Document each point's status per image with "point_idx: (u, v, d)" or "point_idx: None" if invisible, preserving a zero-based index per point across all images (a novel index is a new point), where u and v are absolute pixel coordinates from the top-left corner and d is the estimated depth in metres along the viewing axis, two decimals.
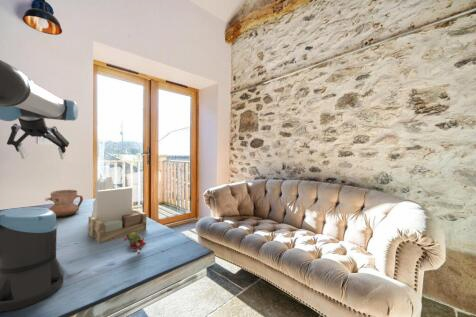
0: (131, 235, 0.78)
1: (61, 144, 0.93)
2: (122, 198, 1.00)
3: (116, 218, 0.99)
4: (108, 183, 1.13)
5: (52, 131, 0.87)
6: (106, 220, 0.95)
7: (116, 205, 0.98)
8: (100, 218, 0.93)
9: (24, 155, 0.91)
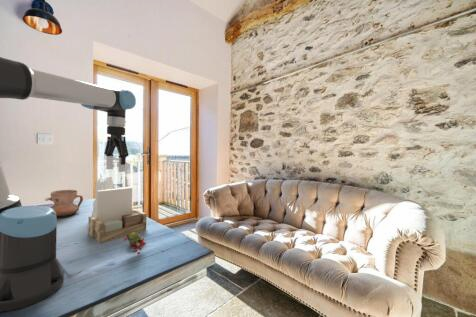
0: (131, 235, 0.78)
1: None
2: (122, 198, 1.00)
3: (116, 218, 0.99)
4: (108, 183, 1.13)
5: (119, 138, 0.93)
6: (106, 220, 0.95)
7: (116, 205, 0.98)
8: (100, 218, 0.93)
9: (108, 167, 1.02)
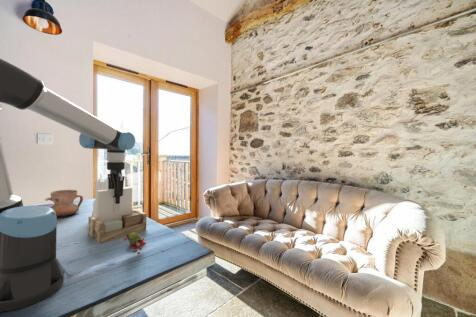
0: (131, 235, 0.78)
1: None
2: (122, 198, 1.00)
3: (116, 218, 0.99)
4: None
5: (118, 178, 0.94)
6: (106, 220, 0.95)
7: None
8: (100, 218, 0.93)
9: None
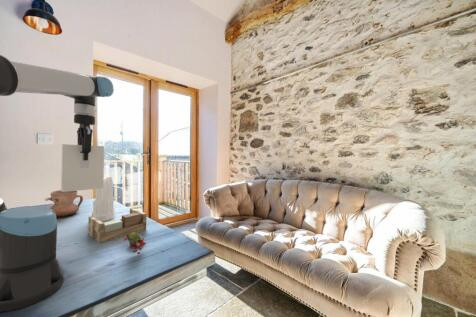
0: (131, 235, 0.78)
1: None
2: (92, 156, 0.93)
3: (85, 177, 0.91)
4: (108, 183, 1.13)
5: (84, 131, 0.87)
6: (72, 177, 0.87)
7: None
8: (65, 174, 0.85)
9: None
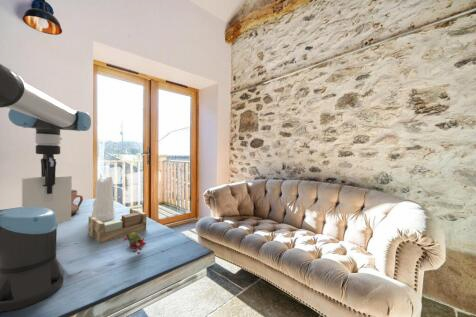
0: (131, 235, 0.78)
1: None
2: (57, 188, 0.87)
3: None
4: (108, 183, 1.13)
5: (47, 163, 0.81)
6: None
7: None
8: None
9: None
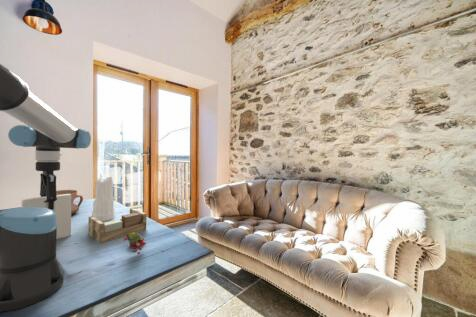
0: (131, 235, 0.78)
1: None
2: (57, 207, 0.87)
3: None
4: (108, 183, 1.13)
5: (47, 179, 0.81)
6: None
7: None
8: None
9: None
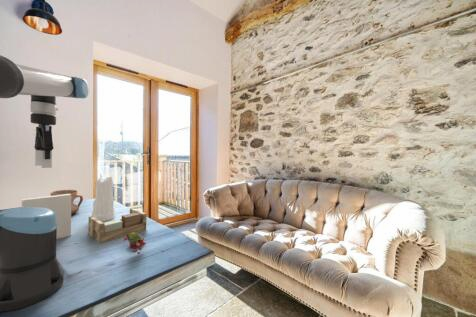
0: (131, 235, 0.78)
1: None
2: (57, 207, 0.87)
3: None
4: (108, 183, 1.13)
5: (42, 128, 0.78)
6: None
7: None
8: None
9: (38, 162, 0.86)
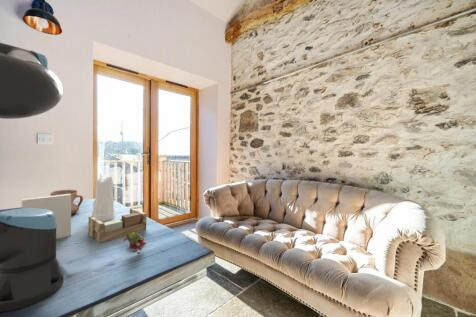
0: (131, 235, 0.78)
1: None
2: (57, 207, 0.87)
3: None
4: (108, 183, 1.13)
5: None
6: None
7: None
8: None
9: None
